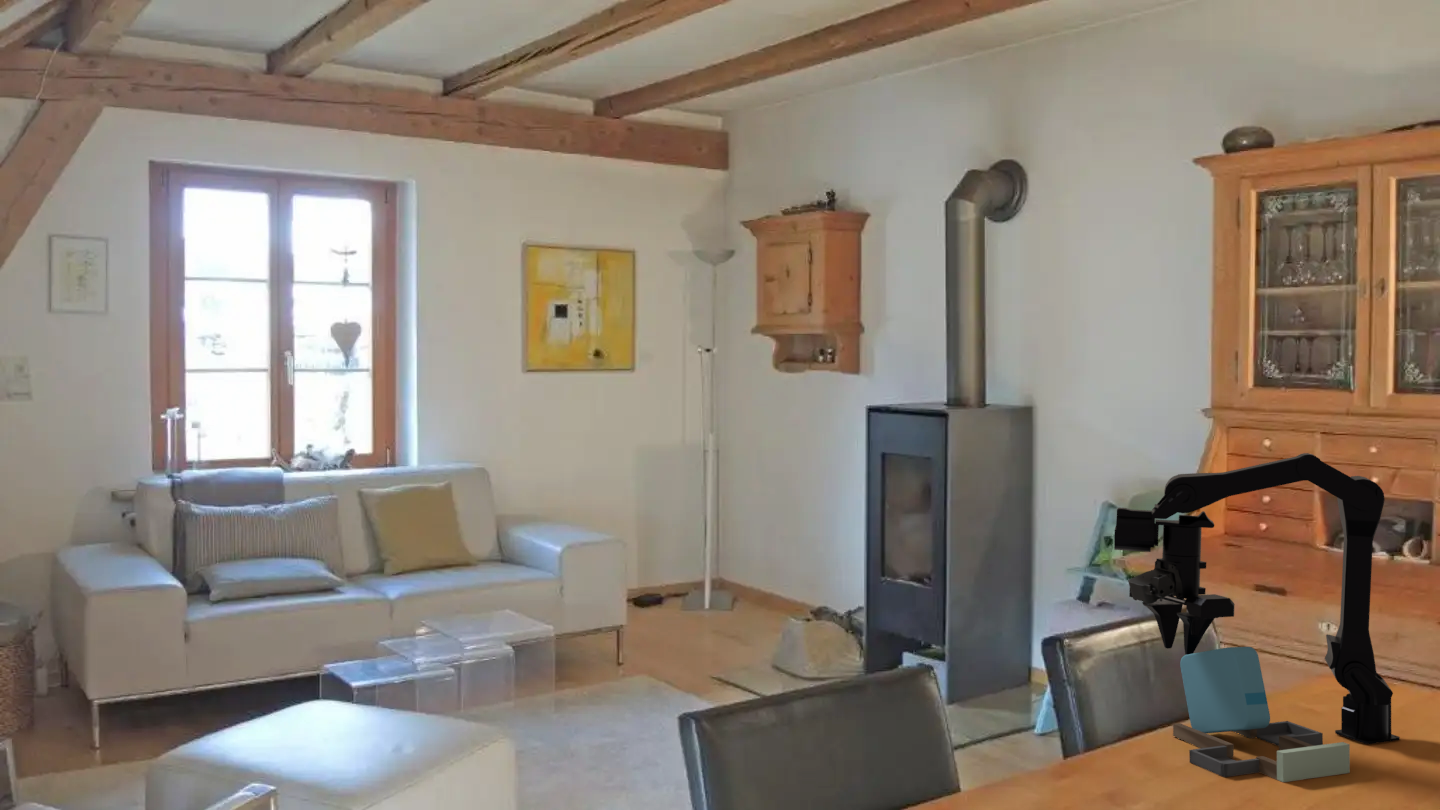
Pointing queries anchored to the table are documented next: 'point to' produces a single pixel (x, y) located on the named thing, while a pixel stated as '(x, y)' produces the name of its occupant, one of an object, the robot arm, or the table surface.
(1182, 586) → the robot arm
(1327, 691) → the table surface
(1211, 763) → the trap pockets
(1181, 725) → the lane rails
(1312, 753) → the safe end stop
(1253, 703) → the blue rounded slab
